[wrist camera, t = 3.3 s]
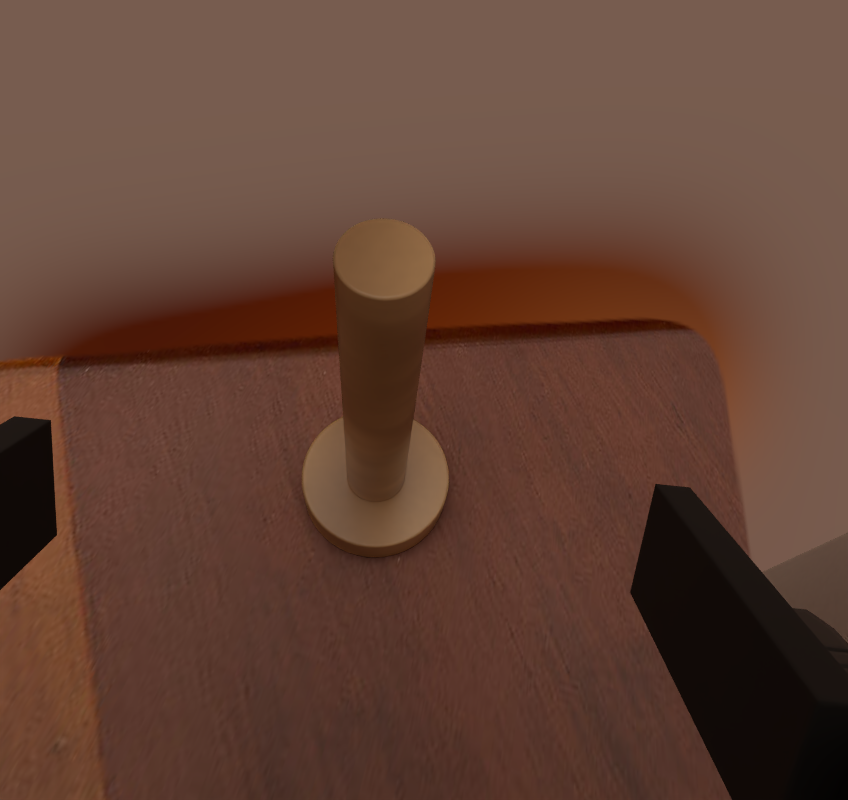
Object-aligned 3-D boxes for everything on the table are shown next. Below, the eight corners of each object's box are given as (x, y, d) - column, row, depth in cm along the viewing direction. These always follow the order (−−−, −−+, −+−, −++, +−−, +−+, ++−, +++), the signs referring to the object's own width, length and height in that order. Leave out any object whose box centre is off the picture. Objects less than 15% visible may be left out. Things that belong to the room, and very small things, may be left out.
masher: (450, 432, 29) (517, 175, 16) (440, 565, 27) (510, 386, 14) (316, 417, 29) (277, 146, 16) (293, 549, 26) (225, 353, 14)
